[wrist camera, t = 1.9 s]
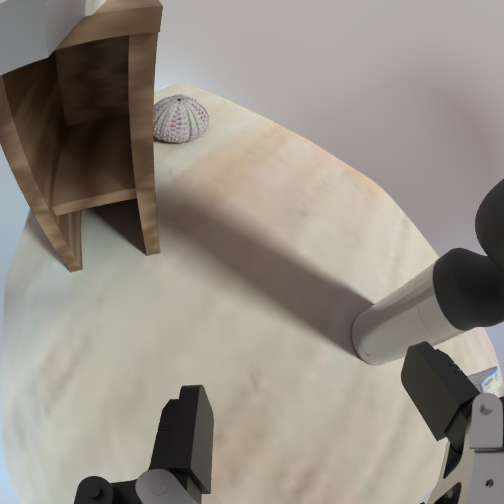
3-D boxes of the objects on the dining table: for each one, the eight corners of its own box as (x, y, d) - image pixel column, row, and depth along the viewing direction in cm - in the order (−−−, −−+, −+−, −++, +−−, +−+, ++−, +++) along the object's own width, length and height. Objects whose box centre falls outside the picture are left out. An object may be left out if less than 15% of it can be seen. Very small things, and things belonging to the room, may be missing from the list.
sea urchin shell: (143, 118, 53) (143, 88, 47) (199, 112, 58) (204, 83, 52) (150, 153, 48) (149, 119, 41) (216, 144, 53) (222, 112, 46)
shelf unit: (143, 162, 46) (149, -12, 19) (161, 258, 38) (163, 6, 11) (73, 177, 41) (44, 9, 14) (70, 278, 33) (-30, 60, 6)
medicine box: (449, 411, 34) (485, 404, 27) (445, 391, 36) (481, 381, 29) (469, 394, 36) (501, 385, 29) (465, 376, 38) (497, 364, 31)
